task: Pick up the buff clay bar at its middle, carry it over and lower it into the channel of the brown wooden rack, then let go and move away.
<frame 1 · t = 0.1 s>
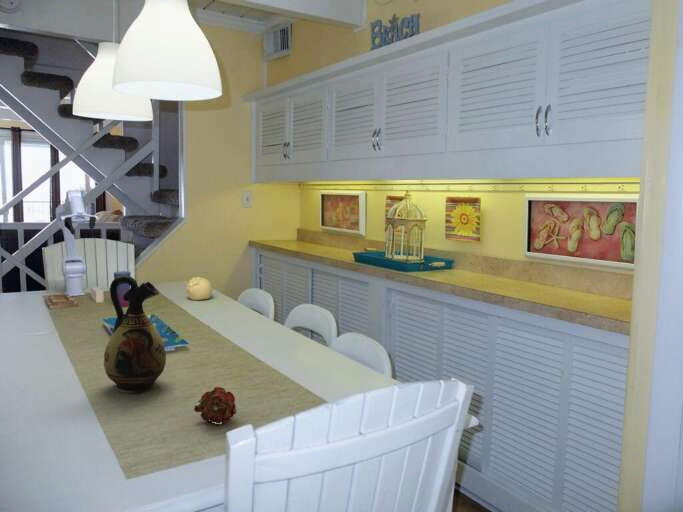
hand: (82, 232, 234), 32 cm above the table, tool tilted 50°, fingers open, 7 cm apart
cup: (123, 306, 239), on the table
sculpture: (199, 299, 257), on the table
ceramic jug: (133, 388, 145), on the table
clay bar: (97, 300, 251), on the table
rack: (61, 303, 241), on the table
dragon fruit: (216, 421, 126), on the table
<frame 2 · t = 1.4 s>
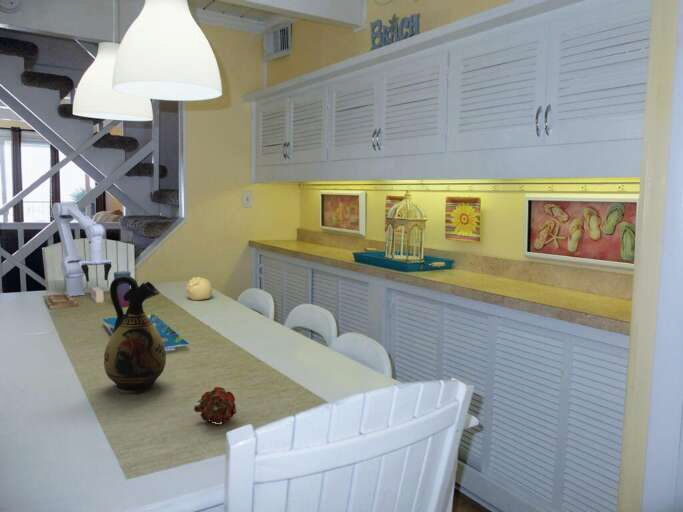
hand: (96, 280, 250), 9 cm above the table, tool pointing down, fingers open, 7 cm apart
nothing on the table moved.
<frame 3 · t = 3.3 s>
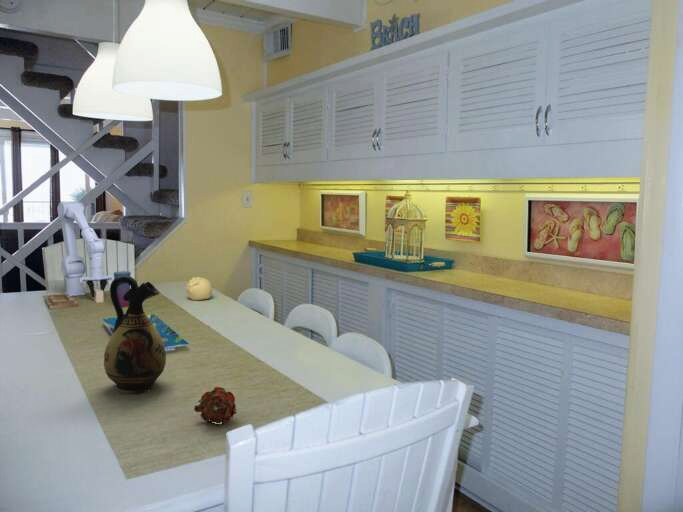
hand: (97, 296, 251), 1 cm above the table, tool pointing down, fingers closed on clay bar, 3 cm apart
clay bar: (97, 299, 251), on the table, touching gripper
everything else where it was.
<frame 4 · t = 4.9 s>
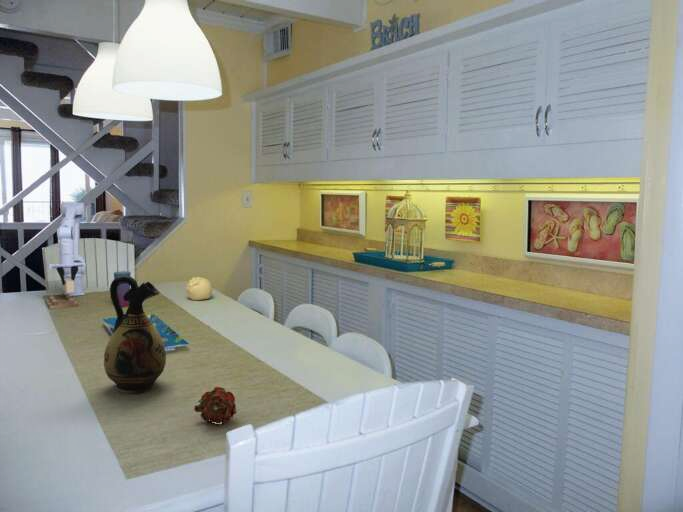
hand: (67, 284, 242), 8 cm above the table, tool pointing down, fingers closed on clay bar, 3 cm apart
clay bar: (68, 290, 242), point 6 cm above the table, touching gripper
everything else where it was.
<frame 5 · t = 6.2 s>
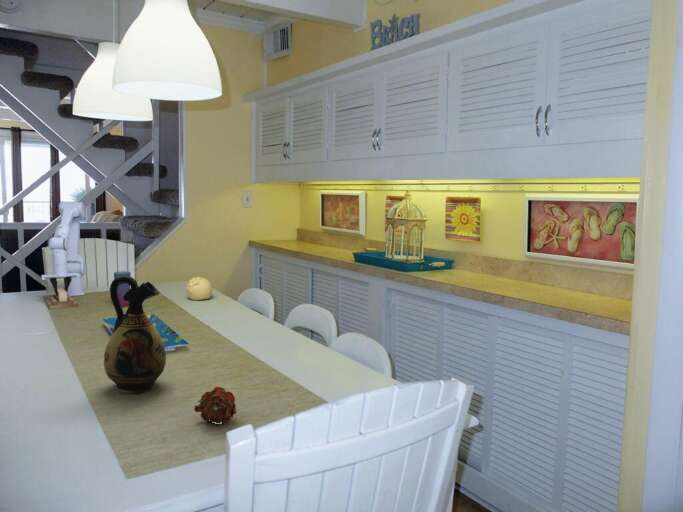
hand: (61, 294, 241), 4 cm above the table, tool pointing down, fingers closed on clay bar, 3 cm apart
clay bar: (61, 301, 241), point 1 cm above the table, touching gripper, rack
everything else where it was.
when the fingers open (4 cm above the table, at t = 6.7 s): clay bar stays where it is, resting on rack.
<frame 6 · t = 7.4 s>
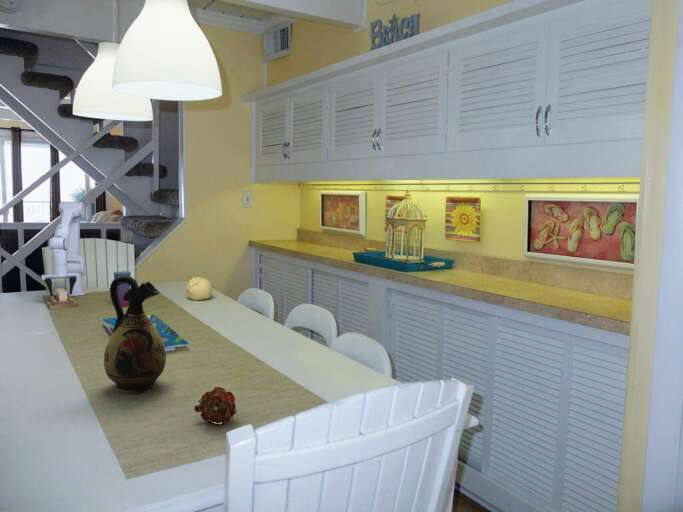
hand: (61, 294, 241), 4 cm above the table, tool pointing down, fingers open, 7 cm apart
clay bar: (61, 301, 241), point 1 cm above the table, touching rack
everything else where it was.
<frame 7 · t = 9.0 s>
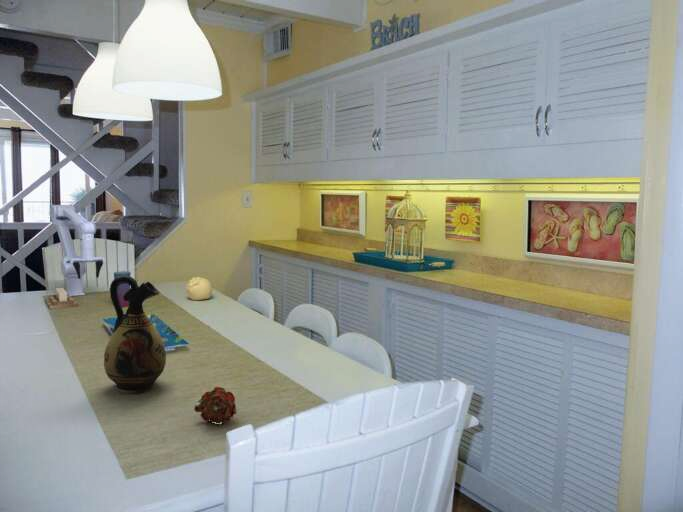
hand: (88, 277, 250), 10 cm above the table, tool pointing down, fingers open, 7 cm apart
nothing on the table moved.
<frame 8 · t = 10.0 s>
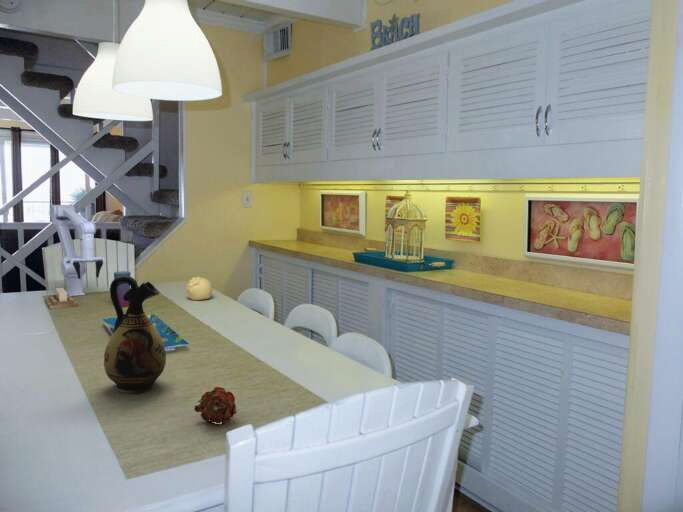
hand: (88, 277, 250), 10 cm above the table, tool pointing down, fingers open, 7 cm apart
nothing on the table moved.
at the end: clay bar 0.1 cm off-centre on the rack, point 1.0 cm above the rack's base; clay bar tilted 0°; the gripper is holding nothing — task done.
